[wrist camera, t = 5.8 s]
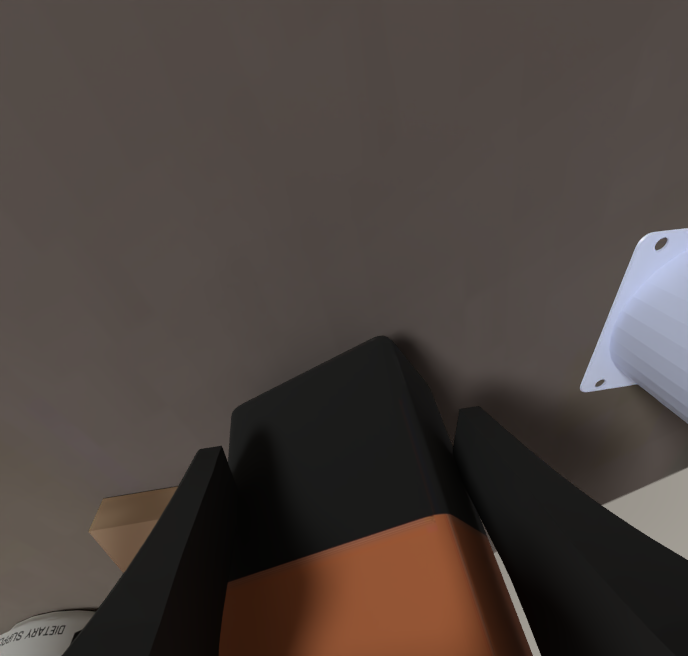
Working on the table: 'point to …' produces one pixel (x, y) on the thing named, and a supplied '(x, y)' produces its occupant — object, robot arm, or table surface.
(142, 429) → the table surface
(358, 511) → the battery
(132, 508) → the wooden flat block
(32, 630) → the supplement can
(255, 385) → the table surface
